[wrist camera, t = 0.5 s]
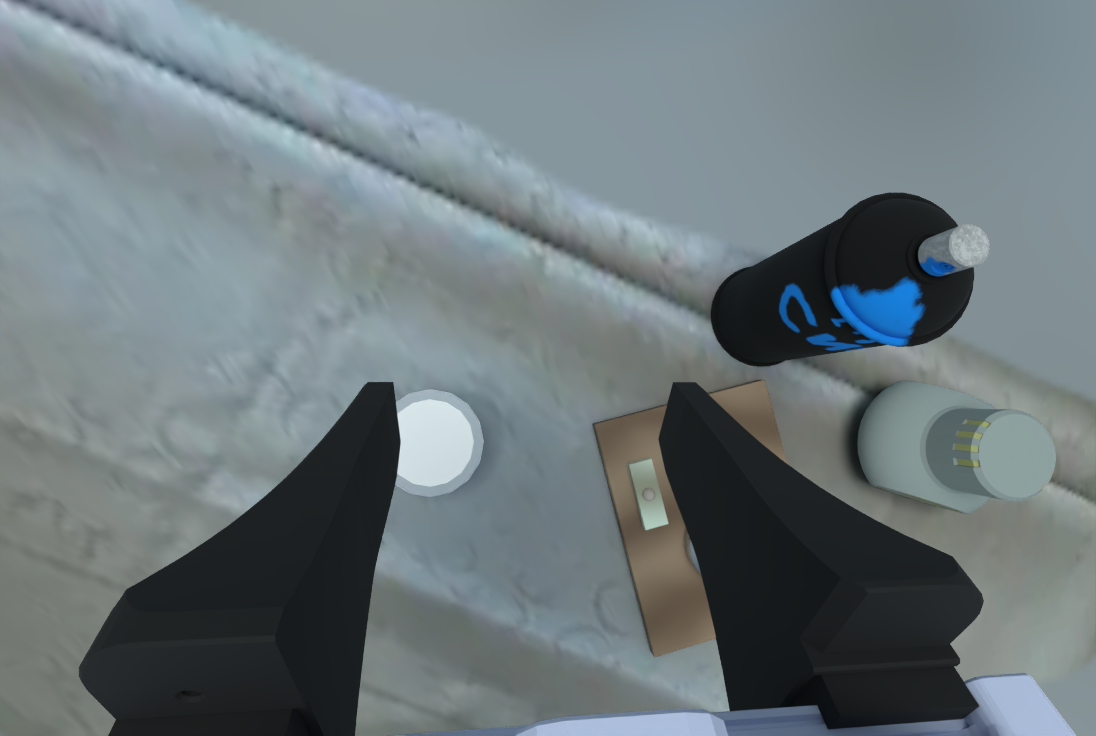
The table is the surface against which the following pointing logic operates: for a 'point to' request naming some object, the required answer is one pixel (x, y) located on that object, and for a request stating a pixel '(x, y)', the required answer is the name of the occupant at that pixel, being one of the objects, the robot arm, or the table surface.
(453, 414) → the white cylinder
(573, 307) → the table surface
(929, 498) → the air freshener
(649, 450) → the board
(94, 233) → the table surface
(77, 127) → the table surface
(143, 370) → the table surface
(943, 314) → the aerosol can
